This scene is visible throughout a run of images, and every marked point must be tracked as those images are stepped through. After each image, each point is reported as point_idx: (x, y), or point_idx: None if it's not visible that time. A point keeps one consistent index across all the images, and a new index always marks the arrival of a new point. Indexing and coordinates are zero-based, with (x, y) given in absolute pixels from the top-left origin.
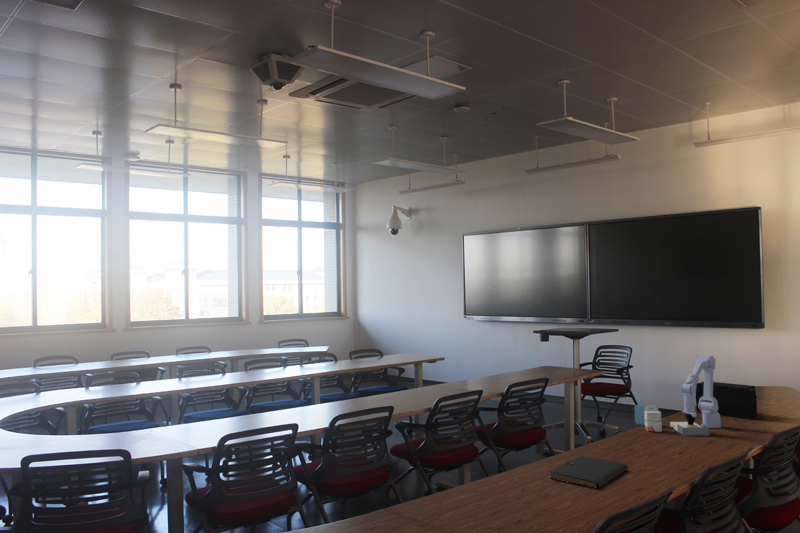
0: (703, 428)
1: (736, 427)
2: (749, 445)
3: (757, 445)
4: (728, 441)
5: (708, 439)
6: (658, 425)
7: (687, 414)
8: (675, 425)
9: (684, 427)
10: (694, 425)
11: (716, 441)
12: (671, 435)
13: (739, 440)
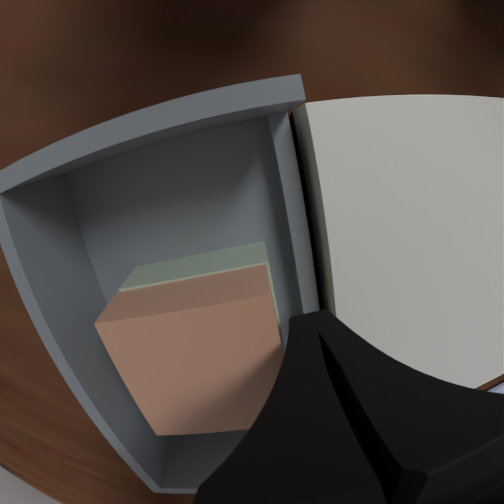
0: (122, 449)
1: None
2: (38, 483)
3: (59, 501)
4: (51, 456)
5: (24, 379)
6: None
7: (459, 500)
8: (449, 99)
9: (324, 225)
10: (237, 405)
11: (8, 403)
12: (46, 28)
13: (108, 497)
